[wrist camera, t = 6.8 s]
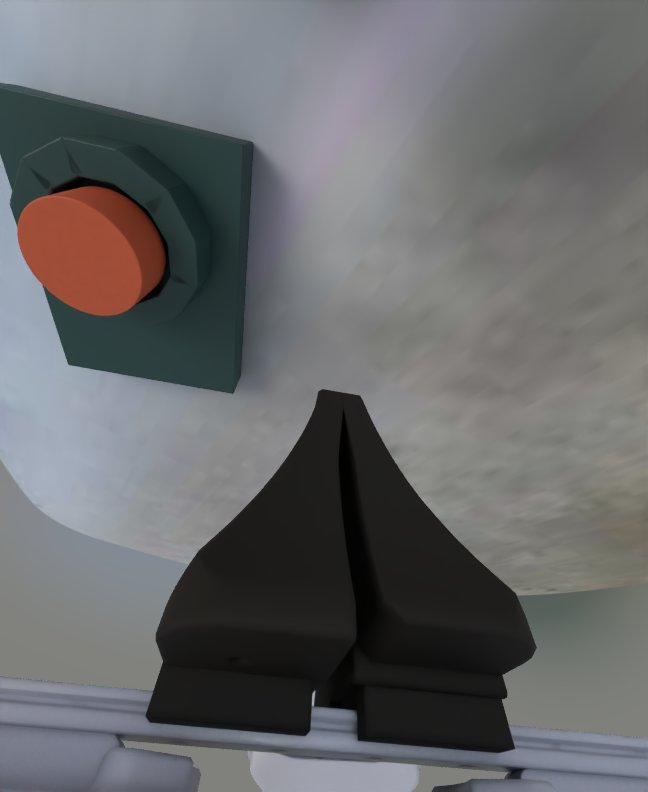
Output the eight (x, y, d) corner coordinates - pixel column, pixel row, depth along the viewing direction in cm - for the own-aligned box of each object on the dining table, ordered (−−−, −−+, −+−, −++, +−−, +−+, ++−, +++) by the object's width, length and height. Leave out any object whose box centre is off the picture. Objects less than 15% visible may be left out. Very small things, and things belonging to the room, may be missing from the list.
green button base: (240, 376, 23) (225, 415, 20) (87, 348, 22) (45, 384, 19) (253, 142, 15) (230, 147, 12) (15, 84, 14) (-76, 73, 11)
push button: (170, 302, 16) (148, 325, 15) (73, 283, 16) (38, 304, 14) (161, 199, 14) (133, 211, 12) (44, 173, 13) (-4, 182, 11)
